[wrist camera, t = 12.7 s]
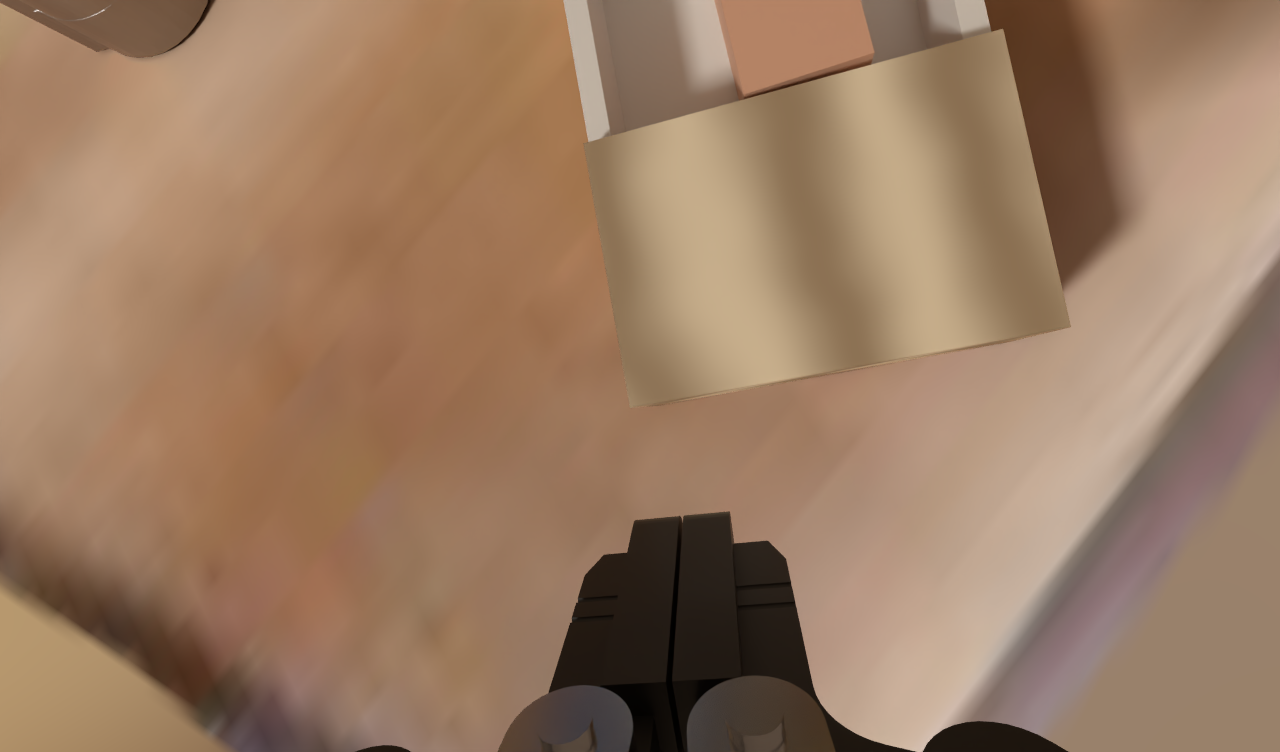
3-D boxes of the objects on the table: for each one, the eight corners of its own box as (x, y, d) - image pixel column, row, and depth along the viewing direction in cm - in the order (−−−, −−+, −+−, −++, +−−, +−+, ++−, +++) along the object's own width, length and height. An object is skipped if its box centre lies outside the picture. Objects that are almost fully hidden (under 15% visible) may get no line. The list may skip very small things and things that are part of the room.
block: (744, 94, 25) (698, -92, 26) (749, 143, 30) (710, -14, 31) (874, 52, 24) (823, -141, 25) (858, 110, 29) (816, -52, 30)
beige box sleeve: (657, 405, 31) (629, 407, 26) (618, 189, 32) (583, 143, 26) (1009, 341, 28) (1071, 327, 22) (957, 103, 29) (1003, 28, 23)
